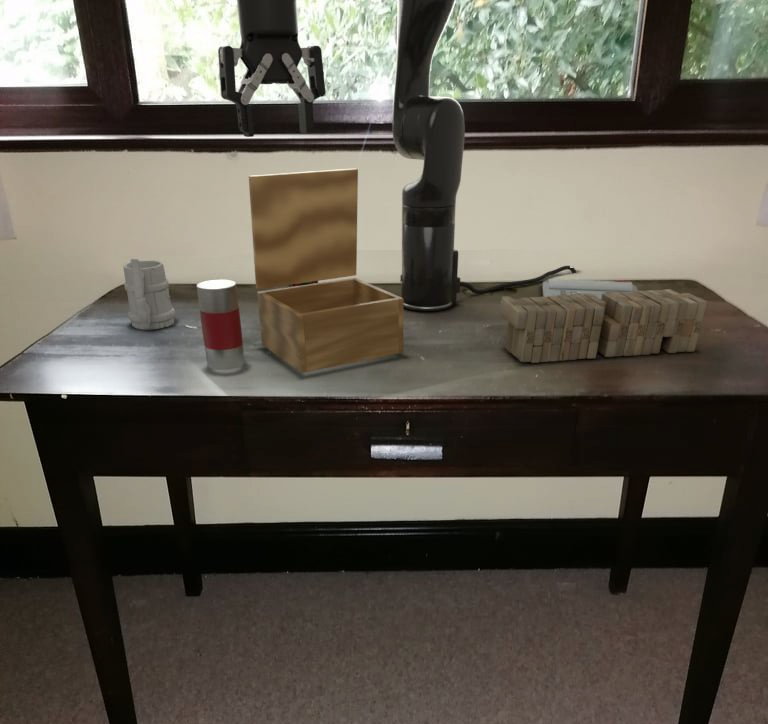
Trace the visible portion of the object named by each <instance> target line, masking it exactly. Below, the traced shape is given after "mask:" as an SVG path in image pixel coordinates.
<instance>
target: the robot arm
mask: <svg viewBox="0 0 768 724" xmlns="http://www.w3.org/2000/svg"><path fill="white" fill-rule="evenodd" d="M236 4H237V5H236V6H237V14H238V16H237V17H238V25H239V34H240V40H241V41H240V46H239V47H232V46H231V45H224V46H220V47H218V50H217V53H218V70H219V85H220V96H221V98H222V99H223V100H225V101H226V100H227V101H229V102H232V103H234V104H235V107H236V114H237V124H238V129H239V131H240V133H242V134H243V137H246V138H252V137H254V136H255V131H254V121H253V111H252V105H249V103H250V102H251V100H252V98H253V96H254V94H255V92H256V91H257V90H258V89H259V87H260V85H273V84H277V85H285V84H286V85H287V86H288V87H289V88H290V89H291V90H292V91H293V93H294V94H295V95H296V97H297V98H298V100H299V102H297V108H298V120H299V121H298V122H299V123H298V124H299V132H300V134H304V135H308V134H311V132H312V129H314V125H315V121H314V105H313V104H314V101H315V100H317V99H319V98H323V97H324V96H325V95H326V84H325V83H326V82H325V73H324V63H323V62H324V61H323V53H322V48H321V47H320V45H309V46H307V47H301V46H300V42H299V38H298V37H299V24H298V10H297V9H298V8H297V0H236ZM396 4H397V22H396V24H397V25H396V26H397V27H396V59H395V60H396V63H395V73H394V74H395V76H394V87H393V98H392V99H393V100H392V112H391V113H392V115H391V128H392V129H391V132H392V139H393V140H392V141H393V143H394V146H395V149H396V151H397V152H398V153H399V154H400V156H402V157H403V158H406V159H410V160H419V161H423V168H422V173H421V175H420V177H418V178H417V179H416V180H415V181H413V182H410V183H408V184H405V186H403V188H402V190H401V191H402V192H401V274H400V277H399V278H400V284H401V295H400V297H402V298H403V299H404V304H403V309H407V310H411V311H417V312H437V311H443V310H447V309H449V308H451V307H452V306H457V296H458V295H457V294H459V293H461V287H462V288H463V287H464V288H467V289H468V290H469V291H470V292H472V293H473V294H486V293H490V292H494V291H497V290H500V289H504V288H509V287H516V286H524V285H529V284H534V283H538V282H541V281H542V280H543V281H544V280H545V279H546V278H548V277H550V276H553V275H557V274H558V273H561V272H563V271H567V270H568V271H570V272H571V273H577V270H576V268H575V267H573V268H570V266H571V265H563V266H560V267H558V268H555V269H553V270H549V271H547V272H545V273H543V274H542V275H539V276H538V277H534V278H529V279H524V280H516V281H509V282H504V283H500V284H496V285H493V286H490V287H487V288H476V287H474V286H473V285H472V284H471V283H468V282H465V281H461V277H459V275H458V273H459V272H458V271H459V250H457V249H456V248H455V233H456V232H455V230H456V206H457V205H456V204H457V195H458V191H459V188H460V185H461V180H462V170H463V159H464V150H465V149H464V147H465V136H466V125H465V124H466V123H465V115H464V111H463V108H462V106H461V104H460V103H459V102H458V100H456V99H455V98H454V97H449V96H430V84H431V83H430V81H431V71H432V70H431V69H432V63H433V58H434V56H435V51H436V49H437V47H438V44H439V42H440V40H441V37H442V36H443V34H444V31H445V29H446V26H447V25H448V23H449V20H450V18H451V15H452V13H453V11H454V7H455V4H456V0H397V3H396ZM239 60H241V62H242V64H244V66H245V68H246V71H245V73H244V75H243V76H242V79H241V81H240V85H239V88H238V90H237V89H236V88H237V86H236V85H237V84H236V69H235V67H237V66H238V64H239ZM301 60H303V63H304V64H305V65H306V67H307V75H308V84H307V81H306V79H305V78H304V76H303V75H302V73H301V72H300V70H299V68H298V66H299V64H300V62H301ZM308 85H309V86H308Z"/></svg>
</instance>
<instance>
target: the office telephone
mask: <svg viewBox="0 0 768 724" xmlns="http://www.w3.org/2000/svg"><path fill="white" fill-rule="evenodd" d="M630 291H636V292H638V291H639V290H638V287H637V285H635V284H634V285H633V280H589V279H556V278H555V279H554V278H548V281H544V280H543V282H542V297H548V296H557V295H576V294H583V295H584V294H593V295H595V296H596V297H598V298H600V299H601V297H602V293H613V292H618V293H621V292H630Z"/></svg>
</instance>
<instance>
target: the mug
mask: <svg viewBox="0 0 768 724" xmlns="http://www.w3.org/2000/svg"><path fill="white" fill-rule="evenodd" d="M164 266H165V265H164V263H163V262H162V261H160V260H139V259H138V258H130V262H127V263H125V264H124V265H122V268H123V274H124V280H125V282H124V284H123V285H124V290H125V291H126V294H127V300H128V307H129V310H128V312H127V315H128V319H129V321H130V322H131V325H132V327H133V328H135V329H137V330H143V331H152V330H159V329H164V328H168V327H170V326H172V325H174V323H175V318H174V317H175V316H176V310H175V308H174V307H173V306H172V301H171V296H170V292H169V287H170V282H169V280H168V278H167V276H166V271H165V267H164Z"/></svg>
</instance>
